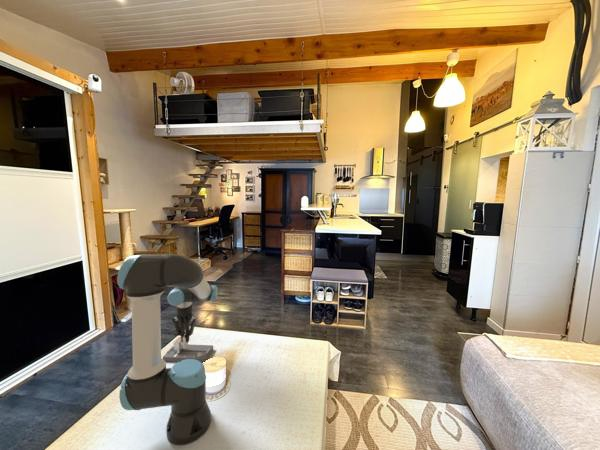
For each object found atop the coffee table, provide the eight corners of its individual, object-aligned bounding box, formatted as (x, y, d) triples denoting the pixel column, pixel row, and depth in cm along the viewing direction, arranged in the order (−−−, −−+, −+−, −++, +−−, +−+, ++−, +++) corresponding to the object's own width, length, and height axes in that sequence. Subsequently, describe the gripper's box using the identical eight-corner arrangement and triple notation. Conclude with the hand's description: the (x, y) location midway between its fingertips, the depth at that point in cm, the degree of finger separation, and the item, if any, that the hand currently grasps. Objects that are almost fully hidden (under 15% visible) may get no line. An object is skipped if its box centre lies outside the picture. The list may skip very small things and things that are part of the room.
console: (204, 363, 126) (203, 355, 125) (162, 361, 127) (162, 354, 126) (213, 349, 138) (213, 342, 137) (175, 348, 139) (175, 341, 138)
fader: (179, 353, 130) (179, 342, 129) (173, 352, 130) (173, 342, 129) (184, 347, 135) (183, 337, 134) (178, 347, 135) (178, 336, 134)
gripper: (199, 303, 133) (200, 343, 135) (176, 302, 134) (177, 343, 136) (193, 308, 126) (193, 351, 128) (168, 308, 127) (169, 351, 128)
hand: (185, 347), depth 132 cm, fingers closed
